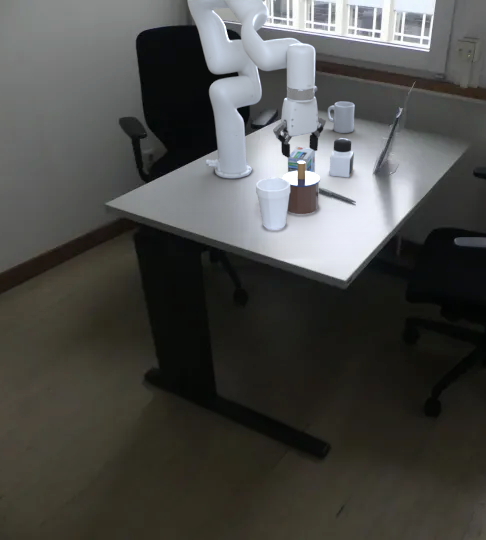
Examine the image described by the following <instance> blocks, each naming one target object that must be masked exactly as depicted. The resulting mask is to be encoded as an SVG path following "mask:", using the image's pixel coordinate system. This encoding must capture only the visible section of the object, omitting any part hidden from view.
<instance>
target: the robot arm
mask: <svg viewBox="0 0 486 540" xmlns="http://www.w3.org/2000/svg"><path fill="white" fill-rule="evenodd" d="M265 1H266V0H187V6H188V9H189V11H190V15H191V17H192V19H193V21H194V24H195V26H196V28H197V31H198V34H199V39H200V44H201V47H202V51H203V55H204V59H205V63H206V66H207V68H208V71H209V72H210V73H211V74H213V75H226V74H231V73H237V74H238V76H230V77H224V78H219V79H217V80H215V81H213V83H211V85H210V86H209V89H208V95H209V100H210V104H211V107H212V111H213V116H214V125H215V137H216V146H217V147H216V148H217V157H218V158H216V159H206V160H205V162H206V163H205V164H206V166H208V168H214V173H215V175H217V176H218V177H220V178H223V179H242V178H244V177H247V176H249V175H250V174H251V173H252V170H253V169H252V166H251V165H250V164H248V163H247V148H246V147H247V146H246V133H245V131H246V130H245V122H244V118H243V117H242V115H241V114H240V113H239V111H238V109H239V108H242V107H248V106H252V105H256V104H257V103H259V102H260V101H261V99H262V93H263V91H262V83H261V79H260V74H259V70H261V71H264V72H272V71H277V70H284V69H286V97H284V99H283V103H282V107H281V117H280V118H281V119H280V123H279V124H278V125H276V126H275V127H273V130H272V131H273V134H274V135H275V138H276V139H277V140H278V141H279V142H280V143H281V145H280V146H281V148H280V149H281V154H282V156H283V157H285V158H287V159H288V157H290V154H291V144H290V141H291V140H292V138H293V137H299V136H303V135H308V134H309V147H308V148H311V149H313V150H314V151H315V152H317V151H318V148H319V147H318V146H319V138H320V137H321V133H322V132H323V131H324V127H325V125H326V123H327V120H326V119H324V118H322V117H320V116H319V109H318V103H317V98H316V96H315V92H317V91H318V87H317V86H316V83H315V82H316V49H315V47H314V46H313V45H311V44H309V43H303V42H301V41H299V40H298V39H296V38H293V37H285V38H275V39H269V40H268V39H267V40H264V39H262V37H261V36H260V34H258V31H259V30H260V29H261V28H262V27H263V26H264V25H266V22H267V21H268V19H269V8H268V6H267V5H266V3H265ZM217 9H218V10H219V9H221V10H222V9H229V10H230V11H231V12H232V13H233V15H234V16H235V18H236V19H237V20H238V21H239V23H240V24H241V29H240V39H230V38H229V35H228V32H227V27H226V25H225V22H224V20H223V19H222V18H221V17H220V16H219V14H217V13H216V12H215V11H214V10H217ZM258 69H259V70H258Z"/></svg>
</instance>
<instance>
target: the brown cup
mask: <svg viewBox="0 0 486 540" xmlns="http://www.w3.org/2000/svg"><path fill="white" fill-rule="evenodd" d="M319 183H320V182H319ZM319 183H318V184H316V185H313V186H309V187H294V186H290V194H289V202H288V210H287V213H288V212H289V213H290V214H293V215H307V214H313V213H314V212H316V211H317V210H318V209H319Z"/></svg>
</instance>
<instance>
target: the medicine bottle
mask: <svg viewBox="0 0 486 540" xmlns="http://www.w3.org/2000/svg"><path fill="white" fill-rule="evenodd" d="M354 155H355V152H354V150H352V140H350V139H348V138H343V137H340V138H337V139H335V140H334V141H333V151H332V153H331V154H330V156H329V176H331V177H341V178H350V177H351V176H352V172H353V171H354Z"/></svg>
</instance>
